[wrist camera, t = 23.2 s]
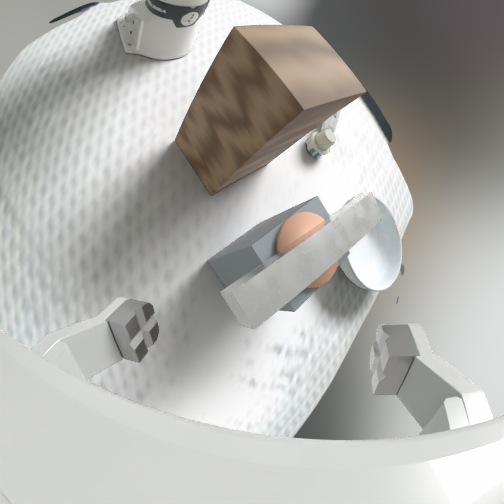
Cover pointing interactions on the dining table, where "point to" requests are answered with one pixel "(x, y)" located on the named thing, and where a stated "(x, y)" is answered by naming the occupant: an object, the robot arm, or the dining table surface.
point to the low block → (273, 247)
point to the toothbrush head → (323, 137)
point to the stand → (262, 100)
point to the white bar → (300, 262)
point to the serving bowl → (375, 254)
